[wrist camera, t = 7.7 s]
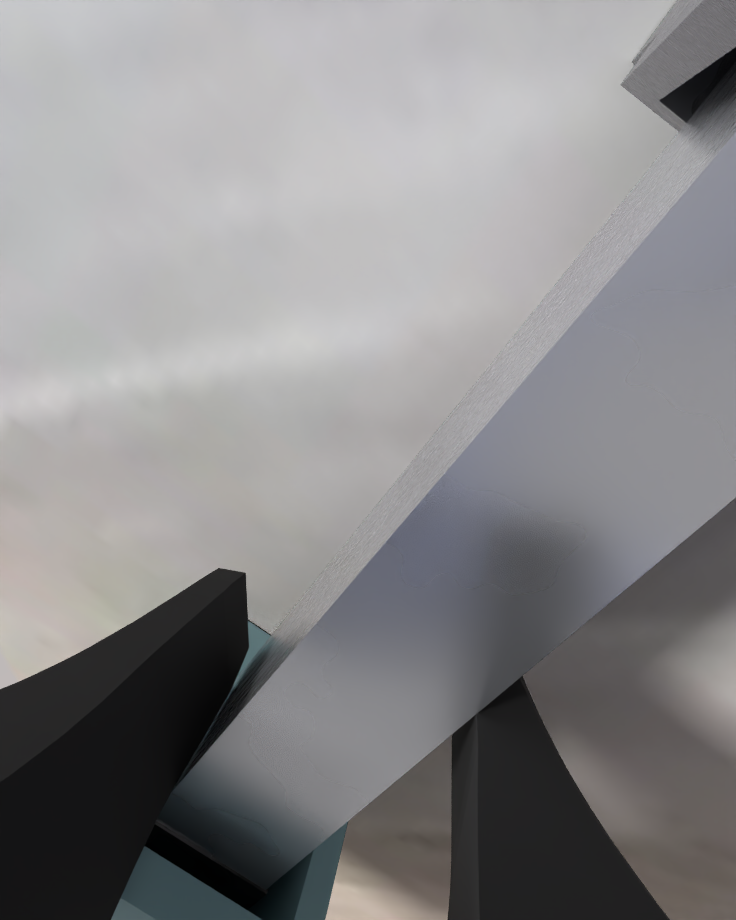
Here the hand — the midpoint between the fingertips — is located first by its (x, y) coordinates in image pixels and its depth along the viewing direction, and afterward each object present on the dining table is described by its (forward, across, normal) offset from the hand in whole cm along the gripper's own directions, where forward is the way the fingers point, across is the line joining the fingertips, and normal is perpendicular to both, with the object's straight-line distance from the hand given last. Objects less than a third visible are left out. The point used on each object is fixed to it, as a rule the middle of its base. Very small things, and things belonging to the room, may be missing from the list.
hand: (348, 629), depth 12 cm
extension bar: (0, -2, -3) cm, 3 cm away
